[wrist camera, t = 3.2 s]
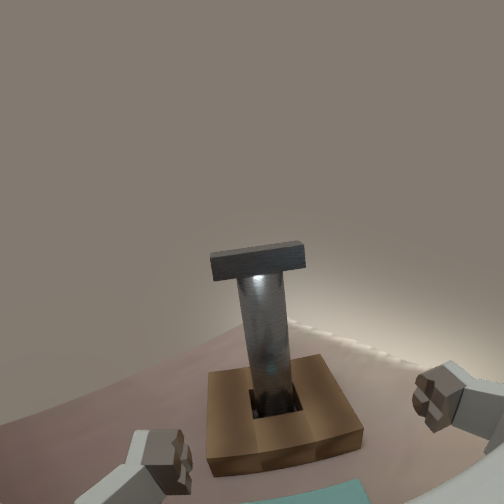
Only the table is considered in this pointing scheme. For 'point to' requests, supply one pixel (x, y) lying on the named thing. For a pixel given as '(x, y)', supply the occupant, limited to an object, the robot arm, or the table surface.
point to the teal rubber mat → (326, 495)
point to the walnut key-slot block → (278, 422)
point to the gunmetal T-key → (264, 317)
